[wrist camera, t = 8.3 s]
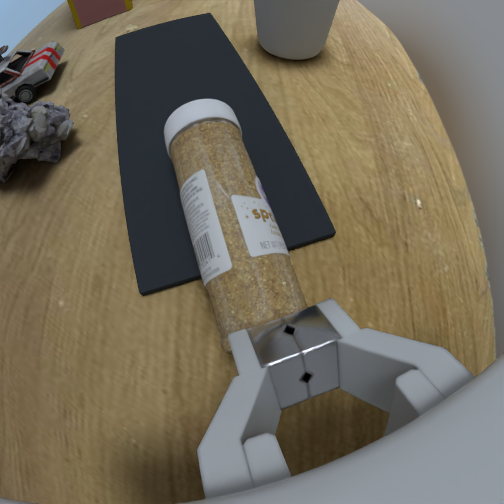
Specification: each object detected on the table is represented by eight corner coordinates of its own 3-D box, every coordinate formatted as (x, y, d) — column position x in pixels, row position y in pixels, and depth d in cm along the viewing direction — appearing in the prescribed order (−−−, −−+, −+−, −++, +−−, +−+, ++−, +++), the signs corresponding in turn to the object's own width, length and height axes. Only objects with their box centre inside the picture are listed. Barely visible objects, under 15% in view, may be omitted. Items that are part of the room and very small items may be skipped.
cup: (295, 20, 29) (301, -33, 22) (353, 45, 27) (367, -12, 20) (235, 48, 26) (233, -18, 18) (300, 77, 24) (311, 2, 17)
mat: (334, 236, 18) (336, 232, 18) (142, 296, 17) (139, 293, 16) (210, 16, 29) (210, 12, 29) (116, 40, 28) (115, 37, 27)
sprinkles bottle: (330, 319, 12) (235, 89, 16) (222, 356, 11) (157, 105, 15) (303, 330, 16) (232, 138, 20) (223, 356, 16) (167, 153, 20)
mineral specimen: (-61, 207, 15) (-74, 105, 9) (-17, 150, 21) (-12, 63, 15) (44, 236, 20) (50, 125, 14) (74, 171, 26) (94, 80, 20)
